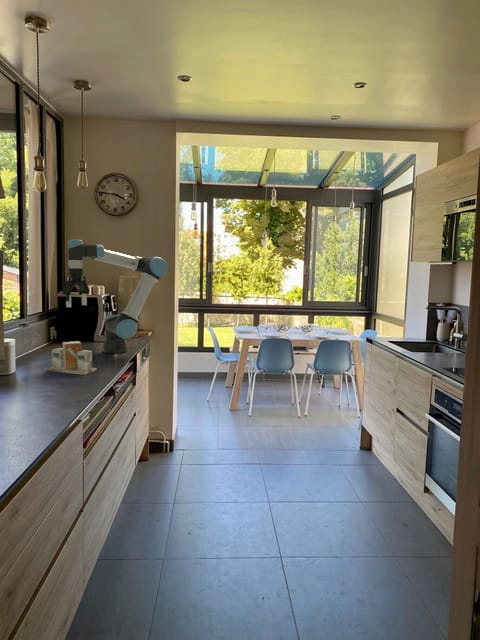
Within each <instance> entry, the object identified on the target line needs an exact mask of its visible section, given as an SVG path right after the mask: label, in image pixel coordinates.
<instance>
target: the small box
mask: <svg viewBox="0 0 480 640" xmlns="http://www.w3.org/2000/svg"><path fill="white" fill-rule="evenodd" d="M62 348H63V367H64V368H65V369H73V368H78V367H77V352H78V351H82V350H83V349H82V342H80V341H79V340H76V341H67V342H66V341H63V342H62Z"/></svg>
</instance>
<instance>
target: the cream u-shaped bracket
mask: <svg viewBox="0 0 480 640" xmlns="http://www.w3.org/2000/svg"><path fill="white" fill-rule="evenodd" d="M51 355H52V360H51V361H52V362H51V363H52V366H51V367H50V368H47V371H48V372H55V373H65V374H74V375H88V374H90V373H94V372H96V371H98V368H97V367H96V368H95V367H93V351H92V350H89V349H87V350H86V349H82V351H78V352H77V367H78V368H73V369H65V368H64V367H63V347H62V348H61V347H58V348H57V347H56V348H52V349H51Z"/></svg>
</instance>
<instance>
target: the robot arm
mask: <svg viewBox="0 0 480 640" xmlns="http://www.w3.org/2000/svg"><path fill="white" fill-rule="evenodd" d="M67 254H68V255H67V257H68V258H67V261H68V275H69V276H66V277H65V283H64V287H63V289H62V295H63V296H65V306H66V308H72V295H71V293H72V291H73V290H74V287H75V286H78V288H79V289H80V291H81V292H82V293H81V306H88V304H87V303H88V301H87V300H88V295H89V293H90V289H89V286H88V283H87V280H86V279H87V278H86V276H84V259H89V260H94V261H98V262H101V263H102V262H103V263H105V264H106V263H107V264H110V265H114V266H117V267H118V266H119V267H123V268H127V269H131V271H132V272H137V273H140V274H141V278H140V280H139V281H138V284H137V286H136V287H135V290H134V292H133V293H132V295H131V298H130V299H129V301H128V303H127V305H126V306H125V309H124V310H123V311H121V312H120V313H119V314H109V315H107V314H106V316H105V319H104V323H105V324H104V326H105V327H104V328H105V329H104V330H105V340H104V344H103V347H102V352H103V353H106V354H122V352H123V353H126V352H128V350H129V349H128V347H129V346H128V345H127V342H126V339H131V338H132V337H134V336H135V335H136V333H137V332H138V325H137V324H138V323H139V318H138V317H139V315H140V313H141V311H142V309H143V307H144V305H145V303H146V301H147V299H148V298H149V295H150V294H151V291H152V289H153V287H154V285H155V283H158V282H159V281H160V279H161V277H164V276H165V275H166V274H167V272H168V263H167V262H166V260H165V259H164V258H162V257H159V256H154V257H153V256H146V257H145V256H137V255H135V256H131V255H127V254H125V253H124V254H123V253H121V252H115V251H113V250H112V251H111V250H107V249H105V247H104V244H103V245H102V244H98V243H97V244H96V243H83V240H82V239H69V240H68V241H67Z"/></svg>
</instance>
